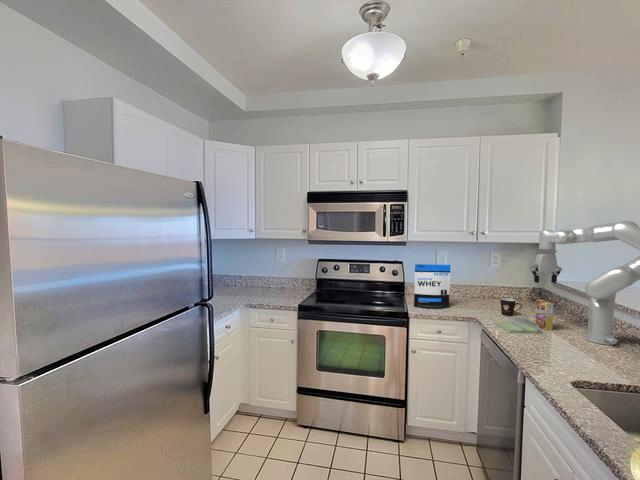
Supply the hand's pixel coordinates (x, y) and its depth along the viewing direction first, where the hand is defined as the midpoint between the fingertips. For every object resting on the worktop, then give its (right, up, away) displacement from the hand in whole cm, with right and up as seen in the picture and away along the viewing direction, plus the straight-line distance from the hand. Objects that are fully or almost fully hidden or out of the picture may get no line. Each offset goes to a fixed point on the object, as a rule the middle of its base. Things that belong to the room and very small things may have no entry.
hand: (545, 282), depth 186 cm
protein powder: (-49, -23, +44) cm, 70 cm away
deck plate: (-16, -26, -1) cm, 30 cm away
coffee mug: (-5, -25, +26) cm, 36 cm away
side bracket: (-14, -24, -3) cm, 28 cm away
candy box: (0, -26, +1) cm, 26 cm away
